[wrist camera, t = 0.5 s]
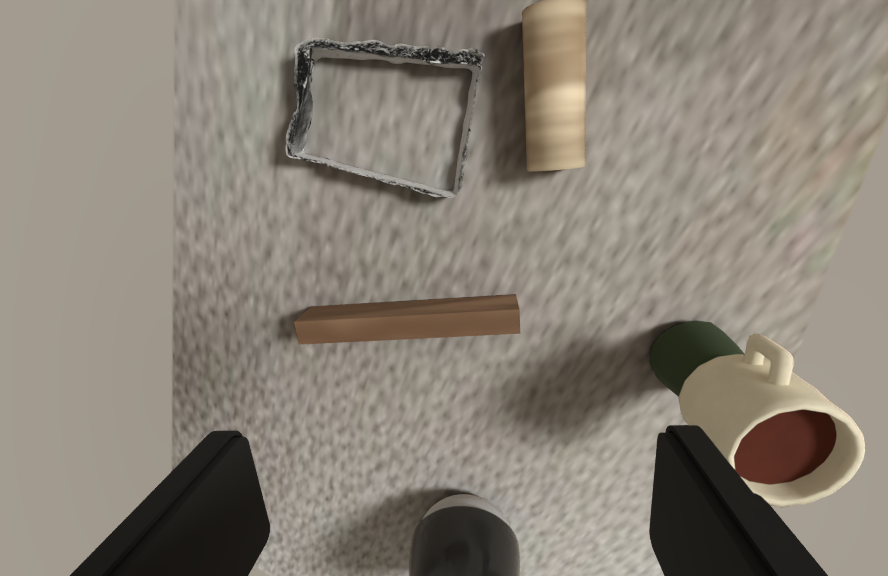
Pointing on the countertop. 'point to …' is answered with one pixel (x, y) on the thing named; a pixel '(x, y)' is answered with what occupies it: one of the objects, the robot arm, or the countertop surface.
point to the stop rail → (409, 319)
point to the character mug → (759, 413)
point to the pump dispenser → (464, 540)
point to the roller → (555, 84)
